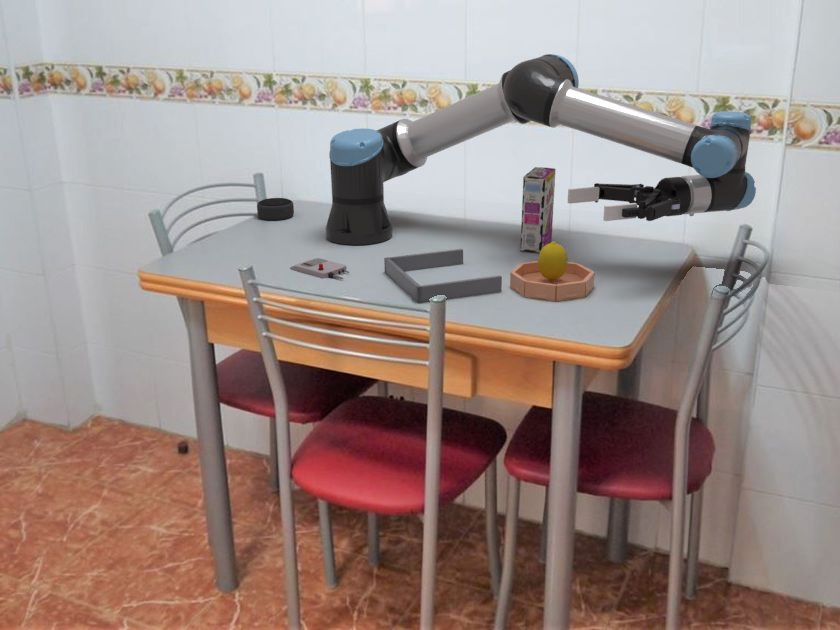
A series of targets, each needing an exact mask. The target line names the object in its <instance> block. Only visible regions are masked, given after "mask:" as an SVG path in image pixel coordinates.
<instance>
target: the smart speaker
mask: <svg viewBox="0 0 840 630" xmlns="http://www.w3.org/2000/svg"><path fill="white" fill-rule="evenodd" d="M294 207H295V206H294V202H293V200H291V199H289V198H287V197H286V198H284V197H269V198H264V199H262V200H260V201H258V202H257V204H256V211H257V216H258V218H259V219H262V220H265V221H283V219H284V220H287V218H288V219H290V218H292V217H293V216H294V214H295V211H294V210H295V208H294Z"/></svg>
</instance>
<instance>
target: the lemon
mask: <svg viewBox="0 0 840 630" xmlns="http://www.w3.org/2000/svg"><path fill="white" fill-rule="evenodd" d="M538 254H539V255H538V258H537V261H538V268H539V271H540V273H541V274H542V276H544V277H545V278H547V279H548V280H549V281H550V282H554V281H555V280H556V279H558V278H560V277H561V276H563V274H564V273H565V271H566V269H567V263H568V262H569V261H568V256H567V251H566V250H565V248H564V247H563V246H562V245H561V244H559V243H557V242H556V241H550V242H549V243H548V244H547V245H545V246H544V247H543V248H542V249H541V251H540V253H538Z"/></svg>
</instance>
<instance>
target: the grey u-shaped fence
mask: <svg viewBox="0 0 840 630" xmlns="http://www.w3.org/2000/svg"><path fill="white" fill-rule="evenodd" d="M383 258H384V265H383V266H384V273H385V274H386V275H387V276H388V277H389V278H390V279H391V280H393V281H394V283H396V284H397V285H398V286H399V287H400V288H402V290H404V291H405V293H406V294H407V295H409V296H410V298H412V299H413V300H414V301H415V302H416V303H418V304H420V303H427V302H428V301H429V299H430V298H432V297H434V296H437V295H445V296H446V297H447V299H446V300H449V299H457V298H465V297H466V298H467V297H471V296H473V297H474V296H478V295H480V296H481V295H488V294H493V293H501V292H503V291H502V287H503V286H502V283H503V282H502V281H503V278H502V277H503V276H502V275H493V276H492V275H491V276H484V277H483V276H482V277H476V278H469V279H461V280H453V281H446V282H445V281H444V282H438V283H431V284H424V285H420V284H419V283H418V282H417V281H416V280H415V279H413V278H412V277H411V276H410V275H409V274H408V273H406V272H407V271H414V270H415V271H416V270H422V269H423V270H424V269H431V268H440V267H449V266H454V265H455V266H456V265H462V264H464V249H463V248H458V249H448V250H440V251H439V250H438V251H431V252H424V253H422V252H421V253H413V254H406V255H398V256H390V257H389V256H388V257H387V256H386V257H383ZM429 302H430V301H429ZM429 302H428V303H429Z"/></svg>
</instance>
